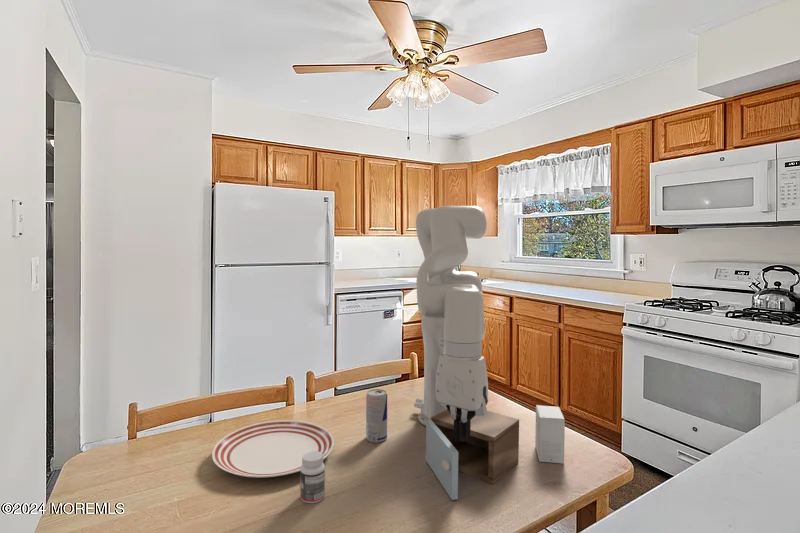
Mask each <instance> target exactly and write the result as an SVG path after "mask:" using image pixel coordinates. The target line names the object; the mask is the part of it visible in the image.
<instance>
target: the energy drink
mask: <svg viewBox="0 0 800 533" xmlns="http://www.w3.org/2000/svg"><path fill="white" fill-rule="evenodd" d="M365 404H366V406H365V411H366V412H365V413H366V414H365V415H366V416H365V417H366V418H365V422H366V423H365V425H366V426H365V434H366V435H365V437H366V440H367V441H369V442H370V443H373V444H375V443H376V444H377V443H383V442H385V441H386V440H387V439H388V394H387V390H384V389H379V388H375V389H374V388H373V389H369V390H368V391H367V392H366V396H365Z"/></svg>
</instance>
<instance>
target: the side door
mask: <svg viewBox="0 0 800 533" xmlns="http://www.w3.org/2000/svg"><path fill="white" fill-rule="evenodd" d="M425 461H426V463H427V464H428V466H429V467H430V469H431V470H432V472H433V473H434V476H435V477H436V478H437V479H438V481H439V482H440V484H441V486H442V488H443V489H444V490H445V491H446V493H447V494H448V496H449V498H450V500H452V501H454V500H458V499H459V471H458V451H457V450H456V449H455V447H454V446H453V445H452V444H451V443H450V441H449V440H448V439H447V438H446V437H445V435H444V434H443V433H442V432H441V431H440V430H439V428H438V427H437V426H436V425H435V424H434V422H433V421H432V420H426V426H425Z"/></svg>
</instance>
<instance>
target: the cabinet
mask: <svg viewBox="0 0 800 533" xmlns="http://www.w3.org/2000/svg"><path fill="white" fill-rule="evenodd" d="M431 420H432V421H433V422H434V424H435V425H436V426H437V427H438V428H439V430H440V431H441V432H442V433H443V434H444V435H445V437H446V438H447V439H448V440H449V441H450V443H451V444H452V445H453V446H454V447H455V449H456V450H457V451H458V472H461V473H463V474H466V475H468V476H471V477H473V478H476V479H478V480H480V481H483V482H485V483H488V484H492V485H494V484H496V482H498V481H500V479H501V478H503V476H505V475H506V474H507V473H508V472H509V471H510V470H512V468H514V467H515V466H516V465H517V464H519V458H520V457H519V456H520V454H519V448H520V443H519V442H520V418H515V417H512V416H509V415H508V416H507V415H504V414H500V413H497V412H493V411H491V410H487V414H486V415H484V416H474V417H473V419H471V427H470V436H469V438H468V439H466V440H464V441H463V442H460V441H459V440H455V439H454V420H453V419H452V418H451V414H450V412H449V411H448V409H446V410H444V411H442V412H440V413H438V414H436V415H434V416H433V417H431Z"/></svg>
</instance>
